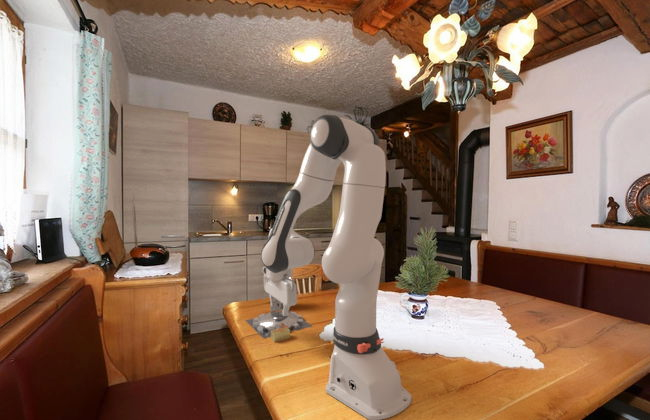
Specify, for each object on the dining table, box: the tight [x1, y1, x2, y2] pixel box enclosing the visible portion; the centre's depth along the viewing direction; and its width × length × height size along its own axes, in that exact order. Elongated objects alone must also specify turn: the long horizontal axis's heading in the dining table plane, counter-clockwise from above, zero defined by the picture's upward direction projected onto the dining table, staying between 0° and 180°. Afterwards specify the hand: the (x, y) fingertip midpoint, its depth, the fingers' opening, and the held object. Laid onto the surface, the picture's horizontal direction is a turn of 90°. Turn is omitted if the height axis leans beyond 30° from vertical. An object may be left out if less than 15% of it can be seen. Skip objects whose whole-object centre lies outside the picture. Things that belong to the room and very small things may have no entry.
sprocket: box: [252, 306, 304, 333], centre depth 119 cm, size 19×20×6 cm
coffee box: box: [269, 299, 283, 312], centre depth 137 cm, size 9×6×16 cm
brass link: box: [270, 327, 291, 343], centre depth 105 cm, size 3×6×4 cm, turn 123°
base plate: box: [245, 310, 313, 339], centre depth 119 cm, size 20×20×1 cm
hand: (279, 310), depth 105 cm, fingers open, 8 cm apart
